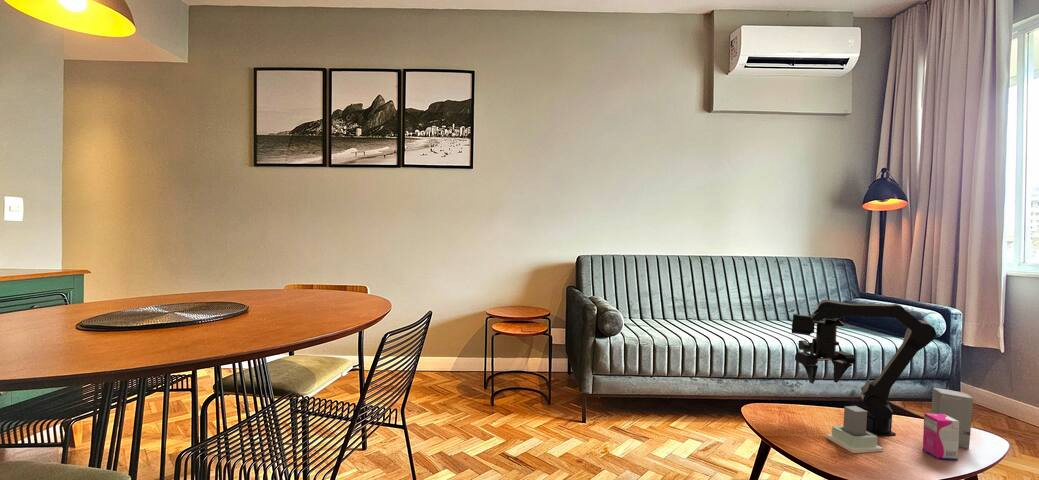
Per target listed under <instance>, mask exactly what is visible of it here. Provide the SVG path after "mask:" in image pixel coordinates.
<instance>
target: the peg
mask: <svg viewBox="0 0 1039 480" xmlns="http://www.w3.org/2000/svg"><path fill="white" fill-rule="evenodd" d="M843 410H844V411H843V425H842V426H843V431H845V432H847V433H849V434H851V435H852V436H866V431H867V430H866V424H867V411H868V410H865V409H863V408H861V407H859V406H857V405H850V406H844V409H843Z"/></svg>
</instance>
